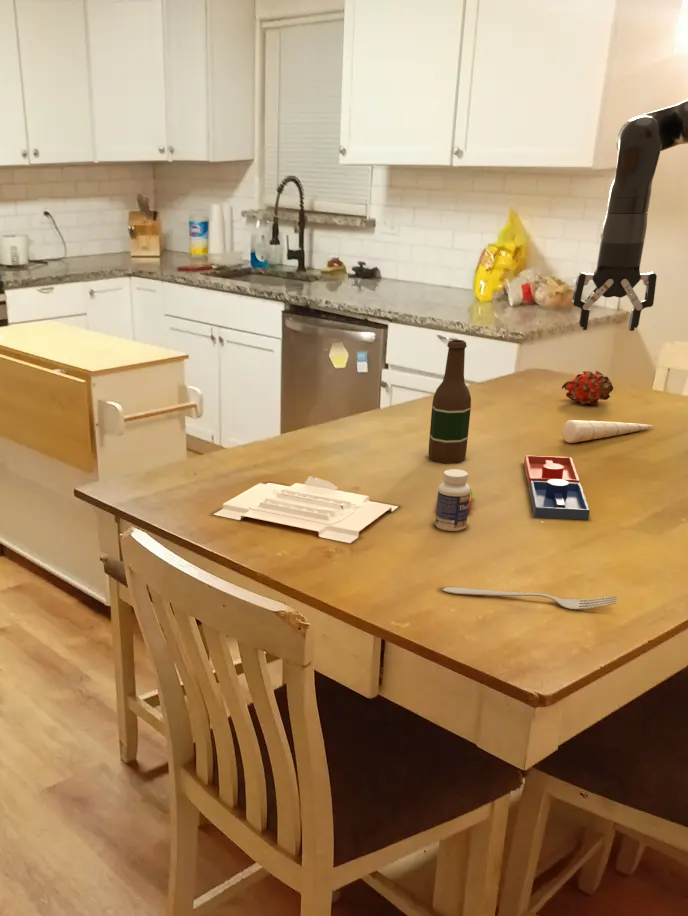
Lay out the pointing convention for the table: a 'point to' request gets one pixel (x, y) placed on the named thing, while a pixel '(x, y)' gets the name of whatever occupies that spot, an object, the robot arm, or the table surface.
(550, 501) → the blue tray
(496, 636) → the table surface
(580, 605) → the fork
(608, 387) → the dragon fruit
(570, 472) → the red tray
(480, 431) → the table surface
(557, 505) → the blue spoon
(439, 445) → the beer bottle
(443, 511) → the pill bottle
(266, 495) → the tray
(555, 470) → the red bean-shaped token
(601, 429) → the unicorn horn
